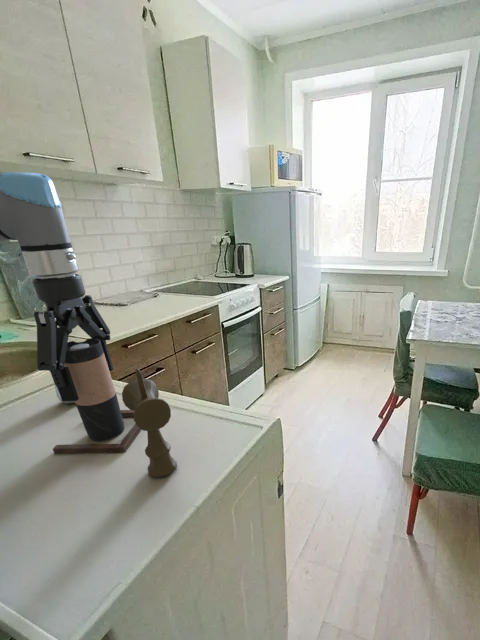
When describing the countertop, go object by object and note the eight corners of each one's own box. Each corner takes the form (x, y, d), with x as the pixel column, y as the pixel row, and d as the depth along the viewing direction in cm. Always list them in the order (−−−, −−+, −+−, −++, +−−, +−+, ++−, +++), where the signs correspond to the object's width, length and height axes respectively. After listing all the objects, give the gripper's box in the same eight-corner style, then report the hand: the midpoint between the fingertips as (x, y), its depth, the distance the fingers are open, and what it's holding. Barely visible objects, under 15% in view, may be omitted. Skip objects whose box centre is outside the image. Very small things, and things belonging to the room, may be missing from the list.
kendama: (171, 451, 69) (149, 355, 60) (188, 478, 62) (165, 373, 53) (140, 462, 66) (111, 364, 57) (153, 492, 59) (122, 384, 50)
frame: (54, 453, 70) (52, 448, 69) (93, 415, 83) (91, 410, 83) (125, 452, 69) (123, 447, 69) (153, 413, 83) (151, 409, 82)
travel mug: (106, 445, 72) (76, 353, 63) (79, 438, 74) (46, 349, 66) (133, 425, 78) (109, 339, 69) (107, 420, 81) (80, 336, 72)
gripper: (27, 288, 50) (72, 415, 60) (111, 264, 73) (134, 360, 82) (-23, 290, 51) (29, 416, 60) (75, 266, 73) (102, 360, 82)
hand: (90, 384), depth 71 cm, fingers open, 13 cm apart
